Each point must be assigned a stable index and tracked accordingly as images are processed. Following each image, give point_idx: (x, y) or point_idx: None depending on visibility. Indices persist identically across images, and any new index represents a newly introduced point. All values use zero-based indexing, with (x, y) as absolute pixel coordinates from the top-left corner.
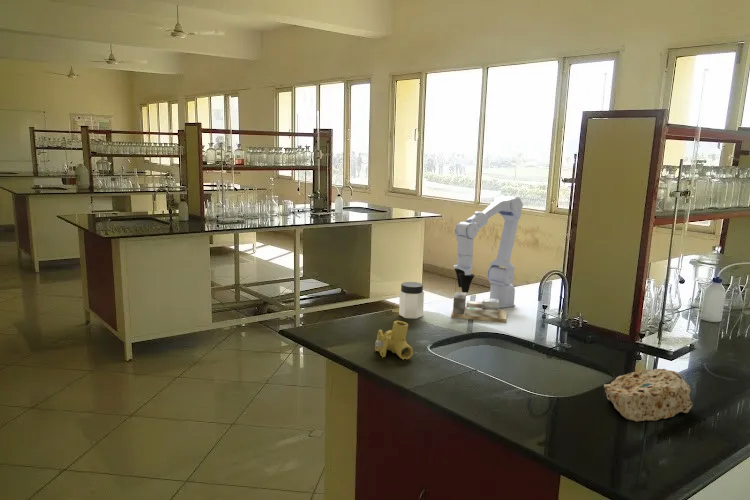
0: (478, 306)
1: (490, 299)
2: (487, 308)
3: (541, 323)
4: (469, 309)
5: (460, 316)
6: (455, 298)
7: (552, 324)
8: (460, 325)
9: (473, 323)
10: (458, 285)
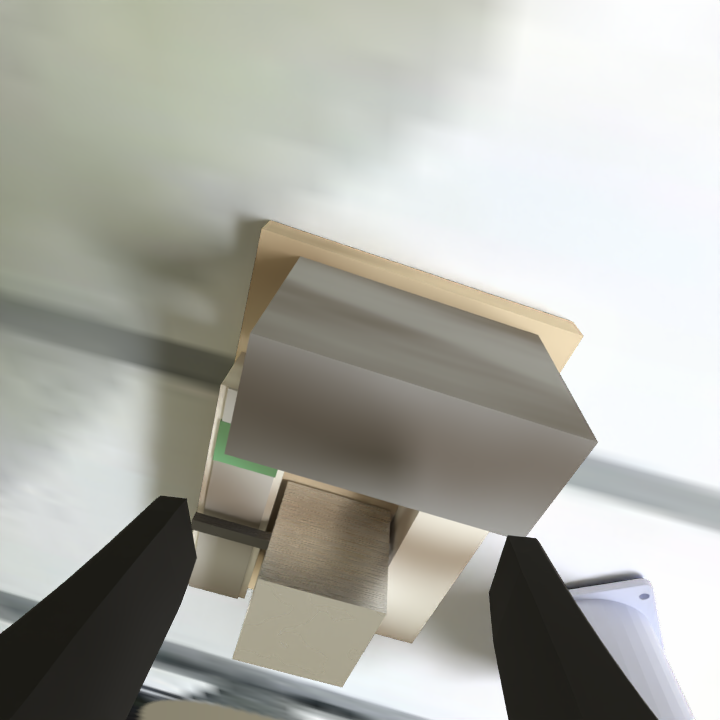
0: (407, 514)
1: (323, 641)
2: (266, 550)
3: (212, 669)
4: (214, 418)
5: (248, 310)
6: (248, 352)
7: (204, 693)
8: (41, 250)
9: (129, 368)
10: (529, 555)
